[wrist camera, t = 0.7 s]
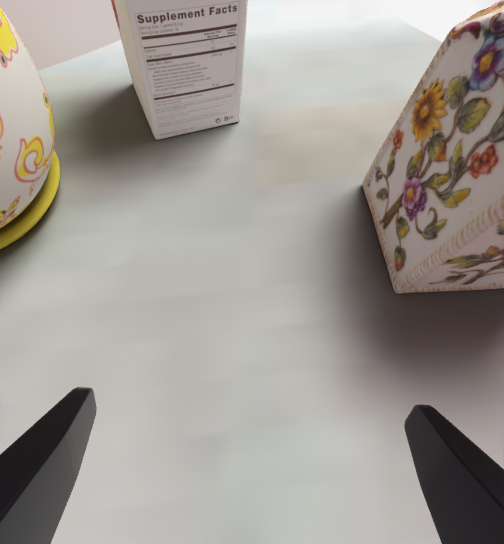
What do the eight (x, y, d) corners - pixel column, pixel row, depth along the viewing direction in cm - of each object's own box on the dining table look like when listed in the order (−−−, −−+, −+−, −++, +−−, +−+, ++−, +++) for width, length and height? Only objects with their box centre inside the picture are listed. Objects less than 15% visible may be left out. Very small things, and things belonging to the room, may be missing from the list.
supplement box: (130, 82, 33) (69, -149, 20) (211, 68, 36) (206, -148, 22) (153, 143, 30) (100, -86, 17) (242, 123, 32) (257, -93, 19)
